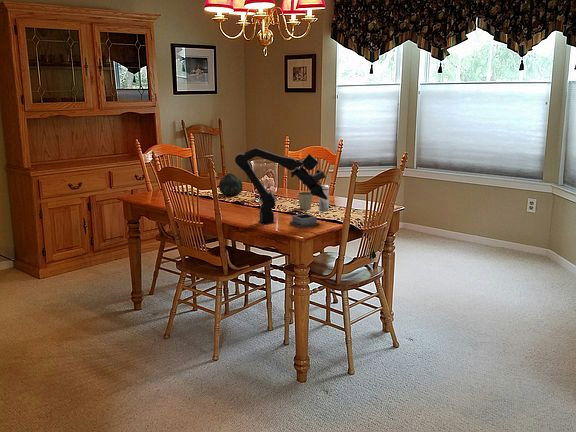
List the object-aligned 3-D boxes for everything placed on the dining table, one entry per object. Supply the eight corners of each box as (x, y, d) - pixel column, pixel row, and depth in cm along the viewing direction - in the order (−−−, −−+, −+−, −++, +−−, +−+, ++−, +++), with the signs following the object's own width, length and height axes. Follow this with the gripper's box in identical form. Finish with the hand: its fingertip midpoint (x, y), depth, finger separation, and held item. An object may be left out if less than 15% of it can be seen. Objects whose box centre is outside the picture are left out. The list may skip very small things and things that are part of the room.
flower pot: (299, 210, 326) (299, 195, 324) (295, 207, 335) (294, 192, 333) (315, 209, 329) (315, 194, 327) (310, 205, 338) (310, 191, 335)
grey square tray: (300, 227, 289) (300, 220, 288) (289, 223, 299) (289, 215, 298) (319, 224, 294) (319, 217, 294) (308, 220, 304) (308, 212, 303)
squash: (236, 182, 383) (223, 167, 374) (250, 186, 372) (237, 171, 363) (223, 199, 379) (210, 184, 370) (237, 203, 368) (223, 188, 359)
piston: (322, 212, 296) (322, 187, 293) (317, 210, 300) (317, 185, 297) (330, 211, 299) (330, 186, 296) (325, 209, 303) (325, 184, 300)
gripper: (317, 168, 285) (339, 190, 288) (315, 163, 303) (336, 183, 306) (301, 184, 287) (323, 206, 289) (299, 178, 305) (321, 198, 308)
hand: (326, 198), depth 298 cm, fingers closed on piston, 5 cm apart
